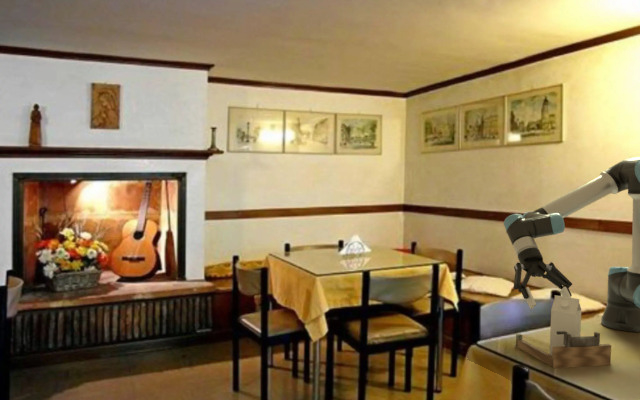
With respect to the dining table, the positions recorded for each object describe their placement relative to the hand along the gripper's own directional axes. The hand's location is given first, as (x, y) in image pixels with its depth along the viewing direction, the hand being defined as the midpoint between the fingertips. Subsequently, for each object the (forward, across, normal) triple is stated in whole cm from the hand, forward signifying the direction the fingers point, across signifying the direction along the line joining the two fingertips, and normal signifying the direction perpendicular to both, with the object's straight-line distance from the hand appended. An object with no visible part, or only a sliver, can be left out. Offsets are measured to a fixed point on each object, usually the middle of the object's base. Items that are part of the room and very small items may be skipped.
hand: (552, 306), depth 164 cm
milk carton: (+14, -2, -7) cm, 16 cm away
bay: (+12, -2, -8) cm, 15 cm away
